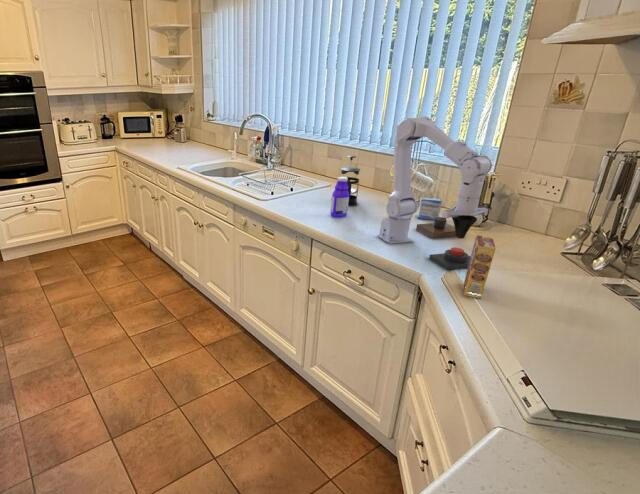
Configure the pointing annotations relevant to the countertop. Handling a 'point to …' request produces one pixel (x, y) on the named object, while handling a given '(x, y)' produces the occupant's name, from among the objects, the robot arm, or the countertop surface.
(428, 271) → the countertop surface
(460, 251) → the switch button
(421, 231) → the panel
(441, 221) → the dimmer knob
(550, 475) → the countertop surface
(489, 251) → the candy box
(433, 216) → the medicine box
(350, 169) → the french press
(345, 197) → the bottle
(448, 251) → the switch block
